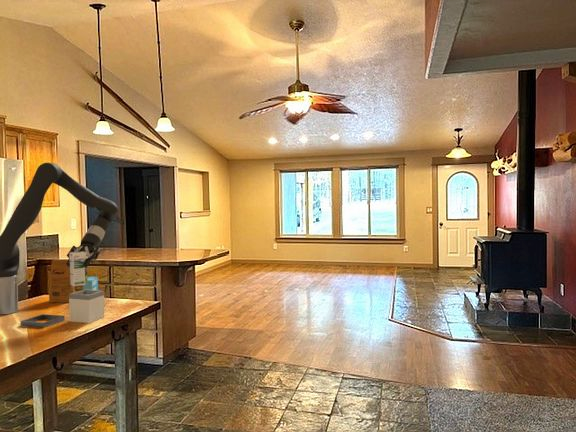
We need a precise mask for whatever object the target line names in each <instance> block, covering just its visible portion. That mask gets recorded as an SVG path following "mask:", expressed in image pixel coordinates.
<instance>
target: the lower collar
mask: <svg viewBox="0 0 576 432" xmlns="http://www.w3.org/2000/svg"><path fill="white" fill-rule="evenodd" d="M65 318H66V317H65V315H57V314H47V313H46V314H45V313H41V314H39V315H35V316H33V317H29V318H26V319H23V320H20V327H27V328H28V327H29V328H40V329H44V328H48V327H51V326H53V325H55V324H58V323H62V322H64V321H65V320H66V319H65ZM41 320H47V321H44V322H43V321H41ZM40 321H41V322H40Z"/></svg>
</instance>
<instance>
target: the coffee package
mask: <svg viewBox="0 0 576 432" xmlns="http://www.w3.org/2000/svg"><path fill="white" fill-rule="evenodd" d="M67 261H68V259H54V258H52V259H51V264H50V275H49V289H48V299H49V300H48V301H49V304H52V303H53V304H54V303H60V304H61V303H62V304H63V303H69V294H71V293H75V292H76V290H75V288H76V286H72V285H71V280H70V267H68V266H67V265H66V263H67Z"/></svg>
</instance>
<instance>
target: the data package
mask: <svg viewBox="0 0 576 432" xmlns="http://www.w3.org/2000/svg"><path fill="white" fill-rule="evenodd" d="M87 283H88V284H87V285H82V290H99V277H98V276H87Z"/></svg>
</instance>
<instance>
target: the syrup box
mask: <svg viewBox="0 0 576 432" xmlns="http://www.w3.org/2000/svg"><path fill="white" fill-rule="evenodd" d="M69 258H70V280H71V285H72V286H75V287H78V286H83V285H87V284H88V283H87V278H88V267H87V268H85V267H84V266H83V263H84V261H85V260H86V258H87V256H86V252H85V251H82V252H70V253H69ZM69 258H68V259H69Z"/></svg>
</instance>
